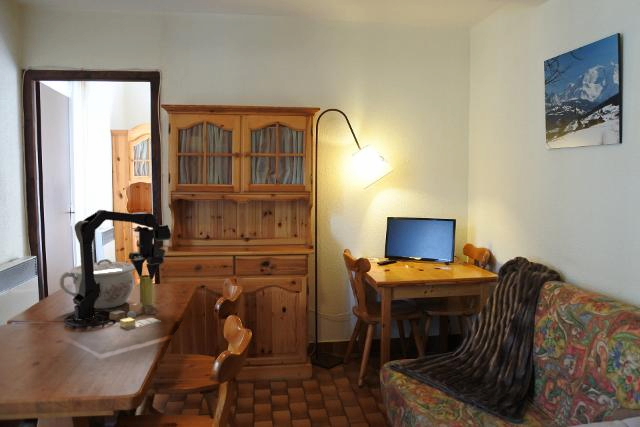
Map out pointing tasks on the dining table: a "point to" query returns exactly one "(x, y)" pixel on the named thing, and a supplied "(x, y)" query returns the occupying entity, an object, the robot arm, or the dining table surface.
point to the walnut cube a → (117, 315)
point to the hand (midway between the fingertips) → (146, 277)
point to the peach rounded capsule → (136, 307)
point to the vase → (146, 290)
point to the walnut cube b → (149, 309)
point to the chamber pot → (106, 282)
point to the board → (143, 322)
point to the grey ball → (131, 314)
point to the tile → (127, 323)
